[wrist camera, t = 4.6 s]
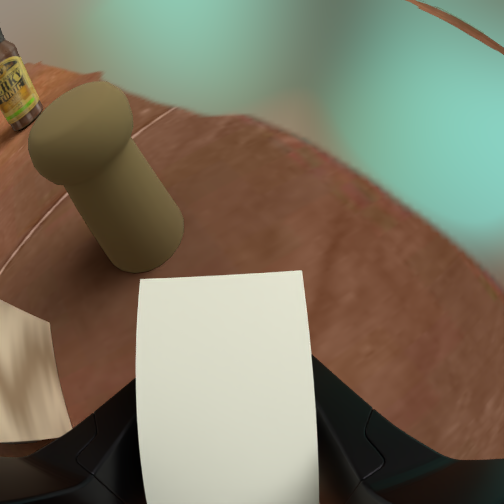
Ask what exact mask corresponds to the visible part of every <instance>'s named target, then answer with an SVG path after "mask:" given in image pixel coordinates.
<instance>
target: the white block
mask: <svg viewBox="0 0 504 504" xmlns="http://www.w3.org/2000/svg"><path fill="white" fill-rule="evenodd" d="M136 405H137V424H138V438H139V449H140V459H141V467H142V475H143V482H144V489H145V495H146V501H147V504H319V471H318V444H317V424H316V408H315V393H314V380H313V368H312V357H311V347H310V337H309V327H308V318H307V309H306V300H305V292H304V284H303V276H302V270H301V271H286V272H271V273H256V274H239V275H221V276H202V277H181V278H158V279H140V288H139V300H138V315H137V335H136Z"/></svg>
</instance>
